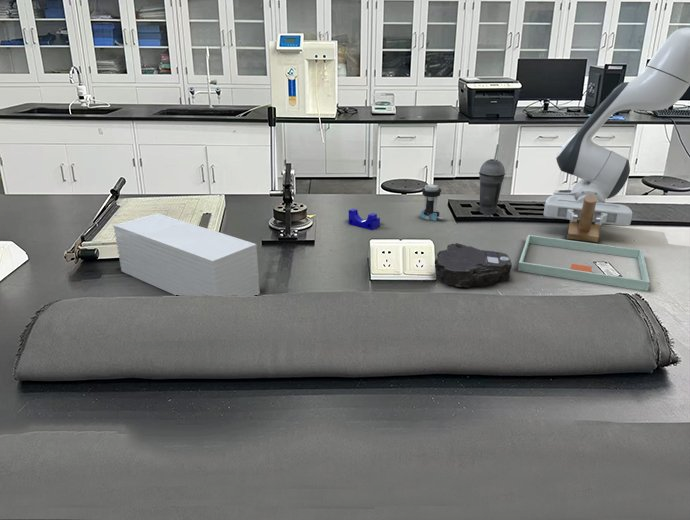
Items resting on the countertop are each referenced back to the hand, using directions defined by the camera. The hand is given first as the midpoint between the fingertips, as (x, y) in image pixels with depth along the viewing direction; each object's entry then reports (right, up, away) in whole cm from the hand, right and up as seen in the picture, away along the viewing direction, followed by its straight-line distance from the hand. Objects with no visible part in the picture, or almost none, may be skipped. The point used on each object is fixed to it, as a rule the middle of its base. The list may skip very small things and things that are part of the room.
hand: (586, 220), depth 128 cm
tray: (-5, -11, -8) cm, 15 cm away
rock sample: (-31, -13, -13) cm, 36 cm away
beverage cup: (-16, +5, +29) cm, 33 cm away
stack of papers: (-91, -14, -17) cm, 94 cm away
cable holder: (-53, 0, +18) cm, 56 cm away
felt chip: (-7, -12, -13) cm, 20 cm away
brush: (+2, -4, +6) cm, 8 cm away
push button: (-34, +1, +21) cm, 40 cm away
